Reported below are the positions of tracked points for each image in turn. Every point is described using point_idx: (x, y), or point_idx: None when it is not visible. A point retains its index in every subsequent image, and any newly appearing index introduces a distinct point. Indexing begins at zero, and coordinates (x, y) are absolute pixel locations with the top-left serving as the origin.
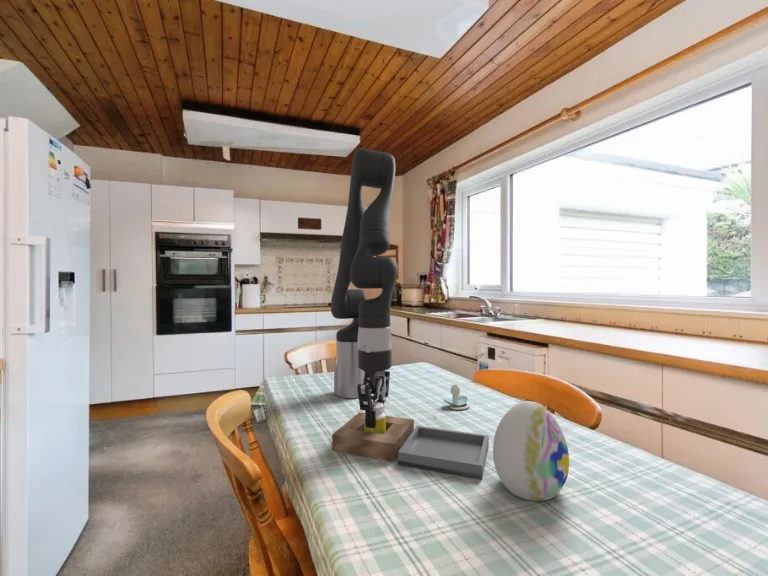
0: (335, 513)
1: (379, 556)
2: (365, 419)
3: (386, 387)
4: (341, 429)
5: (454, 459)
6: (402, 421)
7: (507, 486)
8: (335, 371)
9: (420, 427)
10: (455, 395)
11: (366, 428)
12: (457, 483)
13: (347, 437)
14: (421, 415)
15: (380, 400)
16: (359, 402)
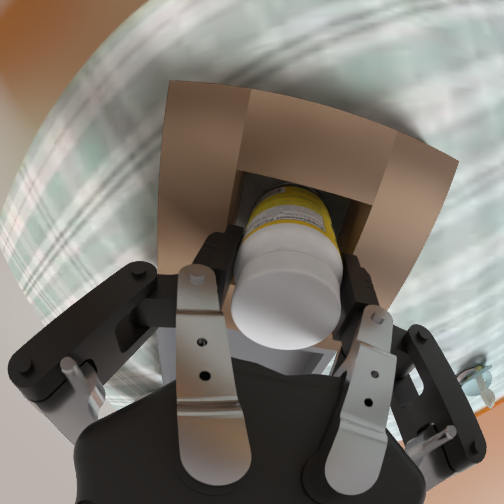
0: (19, 200)
1: (12, 262)
2: (221, 239)
3: (394, 407)
4: (231, 100)
5: (168, 379)
6: None
7: (145, 395)
8: None
9: (323, 356)
10: (480, 392)
11: (254, 216)
12: (147, 356)
13: (162, 152)
14: (464, 325)
15: (345, 340)
16: (94, 290)
